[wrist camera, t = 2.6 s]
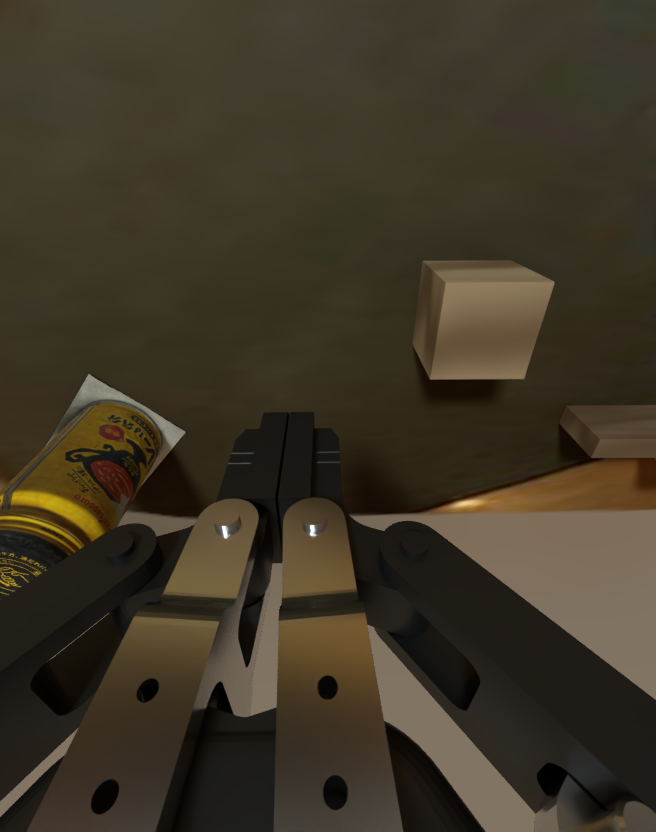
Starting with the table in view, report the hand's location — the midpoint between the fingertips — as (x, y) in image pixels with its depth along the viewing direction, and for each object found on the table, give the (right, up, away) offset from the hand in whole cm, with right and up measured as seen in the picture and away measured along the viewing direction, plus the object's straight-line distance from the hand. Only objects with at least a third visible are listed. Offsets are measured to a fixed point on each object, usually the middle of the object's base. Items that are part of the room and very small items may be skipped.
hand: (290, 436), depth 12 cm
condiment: (-15, -1, +17) cm, 22 cm away
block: (+9, +7, +11) cm, 16 cm away
